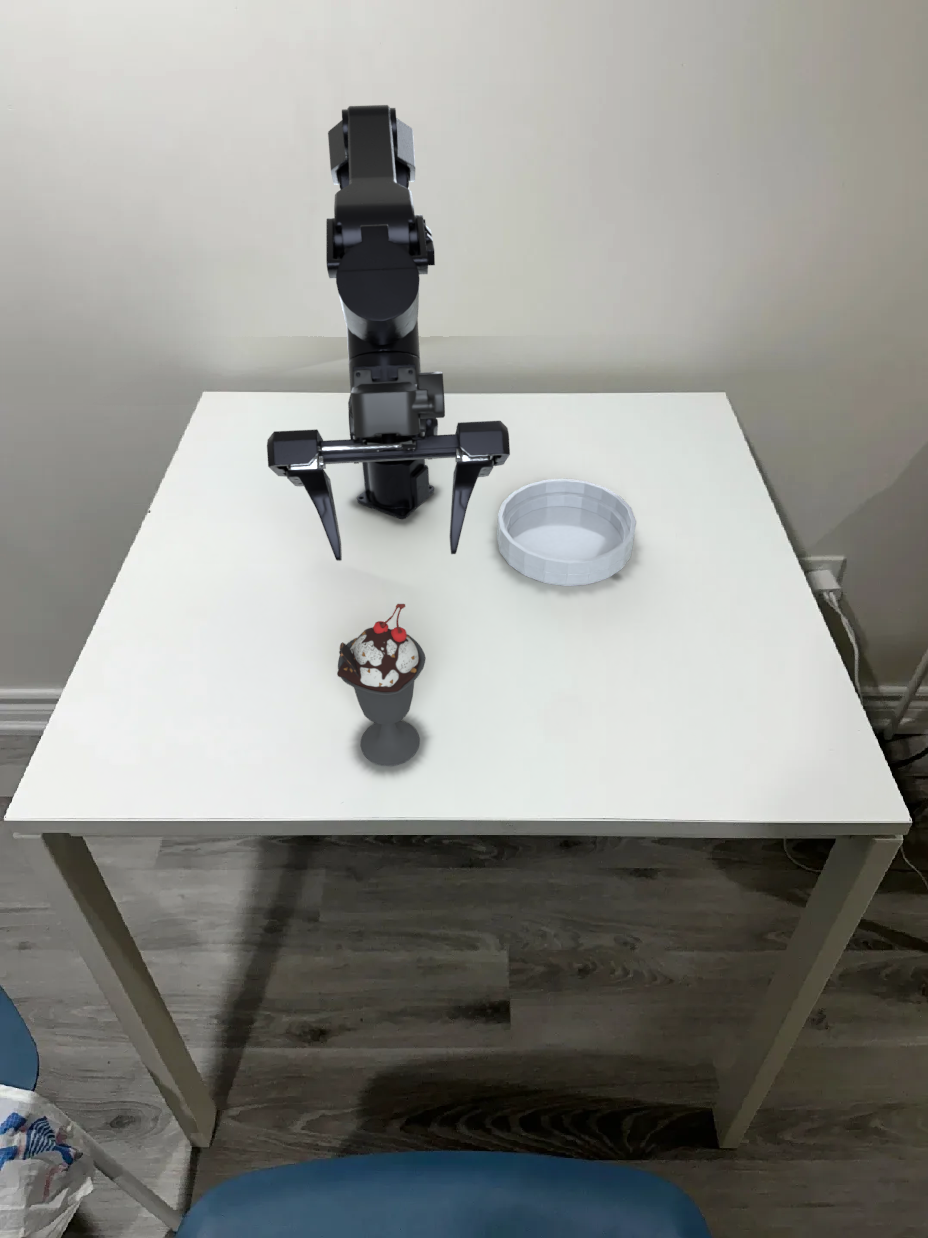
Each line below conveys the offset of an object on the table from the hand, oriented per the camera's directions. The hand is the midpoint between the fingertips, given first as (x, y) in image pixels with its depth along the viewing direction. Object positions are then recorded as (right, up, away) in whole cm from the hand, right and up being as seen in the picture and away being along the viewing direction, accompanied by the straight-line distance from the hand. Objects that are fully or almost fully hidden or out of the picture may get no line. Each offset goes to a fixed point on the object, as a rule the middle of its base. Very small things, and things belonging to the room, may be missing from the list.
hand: (396, 557), depth 71 cm
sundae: (-1, -16, +4) cm, 16 cm away
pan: (+16, +3, +22) cm, 27 cm away
